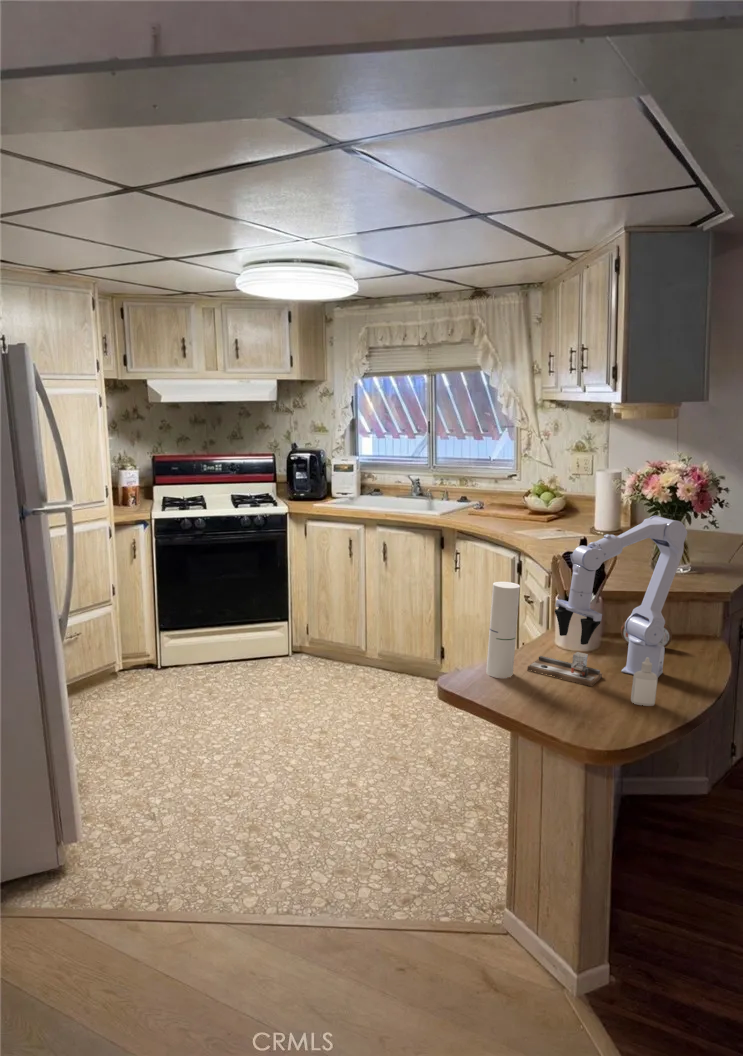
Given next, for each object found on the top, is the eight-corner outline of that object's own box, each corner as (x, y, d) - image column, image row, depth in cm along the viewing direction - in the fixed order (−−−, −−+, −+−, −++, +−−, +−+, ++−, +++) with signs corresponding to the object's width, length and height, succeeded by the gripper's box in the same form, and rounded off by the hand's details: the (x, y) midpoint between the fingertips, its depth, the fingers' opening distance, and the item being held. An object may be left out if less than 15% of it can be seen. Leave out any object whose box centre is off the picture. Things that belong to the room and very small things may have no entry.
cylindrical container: (496, 667, 211) (503, 580, 207) (517, 674, 206) (525, 585, 202) (481, 672, 206) (487, 583, 202) (502, 680, 201) (509, 589, 197)
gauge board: (601, 677, 207) (603, 665, 207) (591, 686, 200) (592, 674, 199) (539, 662, 217) (540, 650, 216) (527, 670, 210) (528, 658, 209)
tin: (670, 648, 235) (673, 622, 234) (670, 651, 232) (673, 625, 231) (619, 641, 240) (622, 616, 238) (619, 644, 237) (622, 618, 235)
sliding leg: (586, 668, 209) (587, 654, 209) (577, 675, 203) (578, 661, 203) (575, 665, 211) (577, 651, 210) (566, 672, 205) (567, 658, 204)
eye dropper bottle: (651, 709, 187) (656, 662, 185) (628, 702, 190) (633, 657, 188) (656, 704, 190) (661, 658, 188) (634, 697, 193) (639, 653, 191)
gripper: (550, 584, 206) (543, 632, 208) (591, 598, 194) (583, 649, 196) (568, 583, 210) (561, 630, 212) (610, 597, 197) (602, 647, 200)
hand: (573, 639), depth 204 cm, fingers open, 7 cm apart
